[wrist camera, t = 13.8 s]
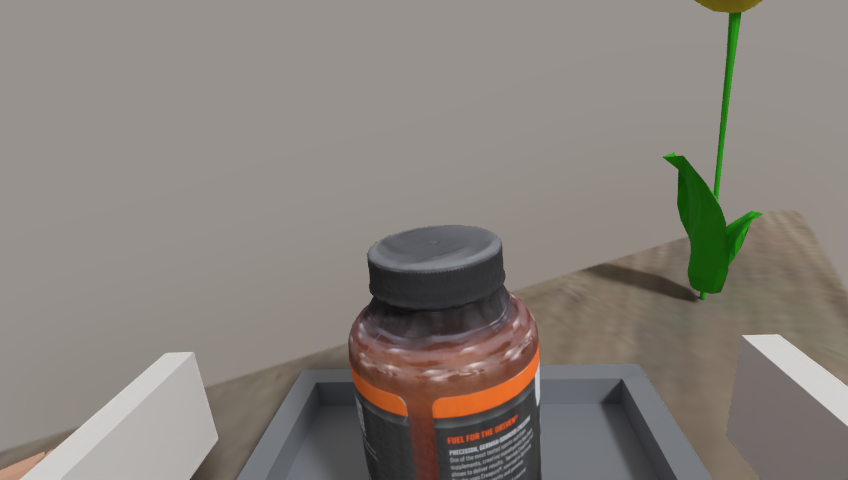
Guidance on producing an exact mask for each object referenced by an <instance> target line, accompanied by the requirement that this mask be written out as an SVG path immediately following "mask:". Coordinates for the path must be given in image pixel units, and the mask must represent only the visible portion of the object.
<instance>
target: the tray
mask: <svg viewBox="0 0 848 480" xmlns="http://www.w3.org/2000/svg"><path fill="white" fill-rule="evenodd" d="M539 369H540V428H541V467H542V480H713V479H712V478H711V476H710V475H709V473H708V471H707V470H706V468H705V467H704V465H703V464H702V462H701V460H700V459H699V457H698V456H697V454H696V453H695V451H694V450H693V448H692V446H691V445H690V443H689V442H688V440H687V439H686V437H685V435H684V434H683V432H682V431H681V429H680V428H679V426H678V424H677V423H676V421H675V420H674V418H673V417H672V415H671V414H670V412H669V410H668V409H667V407H666V406H665V404H664V403H663V401H662V399H661V398H660V396H659V395H658V393H657V392H656V390H655V388H654V387H653V385H652V384H651V382H650V381H649V379H648V378H647V376H646V374H645V373H644V371H643V370H642V368H641V367H640V365H639V364H588V365H539ZM353 382H354V381H353V377H352V372H351V369H303V370H302V371H301V373H300V375H299V376H298V378H297V380H296V381H295V383H294V385H293V386H292V388H291V390H290V391H289V393H288V395H287V396H286V398H285V400H284V401H283V403H282V405H281V406H280V408H279V410H278V411H277V413H276V415H275V416H274V418H273V420H272V421H271V423H270V425H269V426H268V428H267V430H266V431H265V433H264V435H263V436H262V438H261V440H260V441H259V443H258V445H257V446H256V448H255V450H254V451H253V453H252V455H251V456H250V458H249V460H248V461H247V463H246V465H245V466H244V468H243V470H242V471H241V473H240V475H239V476H238V478H237V480H369V475H368V468H367V463H366V457H365V451H364V445H363V439H362V433H361V427H360V421H359V415H358V409H357V403H356V397H355V392H354V386H353Z"/></svg>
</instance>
